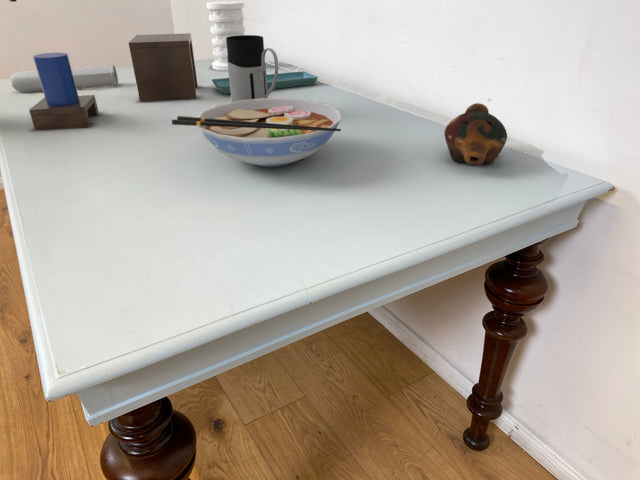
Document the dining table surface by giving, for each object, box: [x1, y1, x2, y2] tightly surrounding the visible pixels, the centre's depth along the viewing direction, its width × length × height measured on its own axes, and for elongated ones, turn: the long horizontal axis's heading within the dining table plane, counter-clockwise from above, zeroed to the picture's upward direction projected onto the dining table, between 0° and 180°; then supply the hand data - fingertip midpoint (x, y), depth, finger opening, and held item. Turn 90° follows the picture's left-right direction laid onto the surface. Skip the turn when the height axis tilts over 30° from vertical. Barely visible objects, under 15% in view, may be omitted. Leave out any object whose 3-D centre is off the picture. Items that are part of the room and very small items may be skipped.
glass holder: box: [226, 34, 279, 102], centre depth 99 cm, size 9×14×15 cm, turn 44°
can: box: [32, 52, 79, 106], centre depth 95 cm, size 6×6×9 cm
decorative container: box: [205, 0, 246, 72], centre depth 144 cm, size 12×12×18 cm
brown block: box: [128, 32, 199, 103], centre depth 116 cm, size 13×13×13 cm
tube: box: [10, 64, 119, 93], centre depth 124 cm, size 5×5×25 cm
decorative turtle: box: [444, 102, 508, 167], centre depth 77 cm, size 10×15×8 cm, turn 170°
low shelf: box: [29, 94, 100, 131], centre depth 98 cm, size 10×10×4 cm
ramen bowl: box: [171, 97, 342, 168], centre depth 77 cm, size 25×23×8 cm
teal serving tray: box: [211, 70, 319, 95], centre depth 124 cm, size 26×9×2 cm, turn 116°
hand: (38, 0), depth 90 cm, fingers open, 8 cm apart
